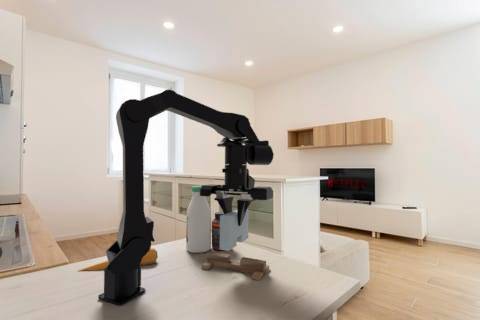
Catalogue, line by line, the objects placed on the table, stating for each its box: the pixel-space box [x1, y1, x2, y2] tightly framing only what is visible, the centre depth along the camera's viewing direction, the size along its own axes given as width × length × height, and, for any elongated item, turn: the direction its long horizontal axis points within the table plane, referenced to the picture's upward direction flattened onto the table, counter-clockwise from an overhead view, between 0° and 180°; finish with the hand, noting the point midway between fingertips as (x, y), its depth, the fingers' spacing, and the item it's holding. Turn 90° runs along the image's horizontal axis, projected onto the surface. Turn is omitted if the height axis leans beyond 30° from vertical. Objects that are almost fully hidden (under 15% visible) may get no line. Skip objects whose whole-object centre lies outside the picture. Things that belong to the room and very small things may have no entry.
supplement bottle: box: [211, 211, 224, 251], centre depth 83 cm, size 6×6×11 cm
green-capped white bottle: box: [185, 185, 212, 254], centre depth 82 cm, size 8×8×20 cm
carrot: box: [77, 247, 159, 272], centre depth 68 cm, size 20×4×4 cm, turn 111°
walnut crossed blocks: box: [201, 251, 270, 281], centre depth 66 cm, size 7×16×3 cm, turn 65°
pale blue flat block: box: [219, 208, 250, 252], centre depth 67 cm, size 12×2×8 cm, turn 155°
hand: (235, 225), depth 67 cm, fingers closed on pale blue flat block, 2 cm apart
